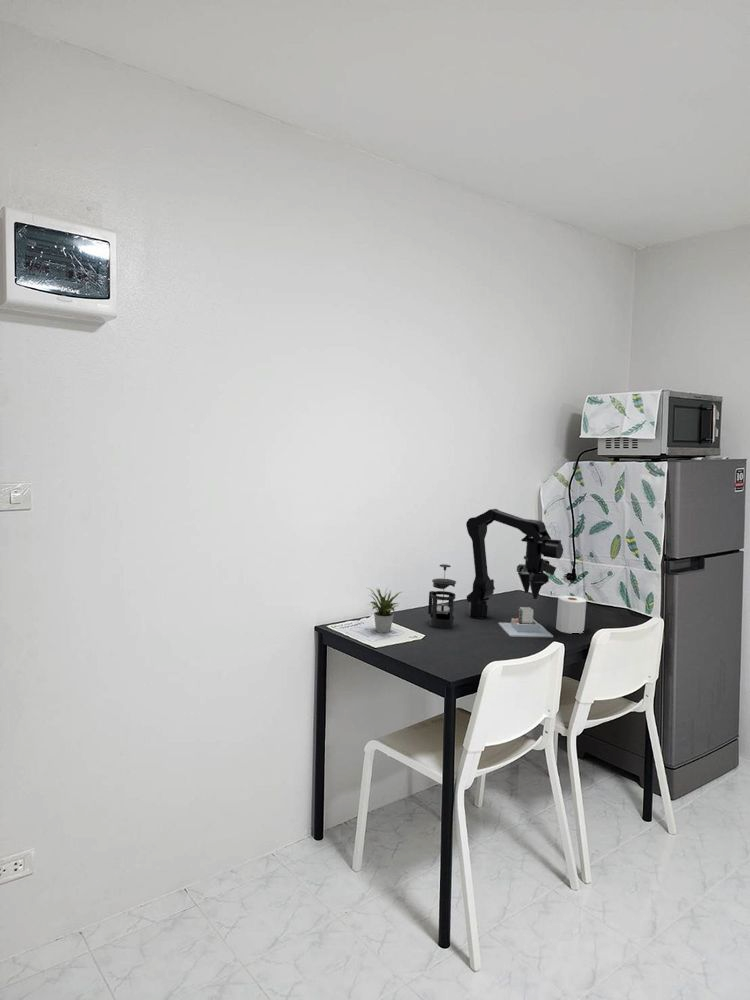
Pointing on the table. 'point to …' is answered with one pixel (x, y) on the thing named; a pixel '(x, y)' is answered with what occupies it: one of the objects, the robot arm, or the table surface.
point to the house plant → (383, 611)
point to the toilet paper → (571, 614)
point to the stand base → (524, 629)
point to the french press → (439, 618)
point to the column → (525, 615)
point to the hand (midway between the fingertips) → (530, 595)
